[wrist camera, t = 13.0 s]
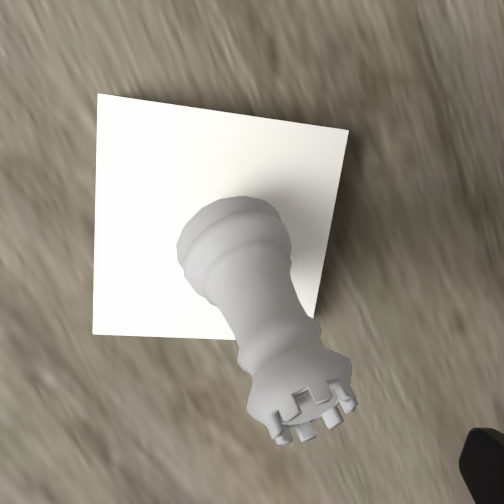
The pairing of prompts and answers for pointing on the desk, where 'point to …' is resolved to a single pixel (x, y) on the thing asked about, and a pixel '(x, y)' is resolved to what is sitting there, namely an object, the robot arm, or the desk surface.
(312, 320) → the rook chess piece
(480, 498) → the robot arm
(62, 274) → the desk surface
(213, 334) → the off-white block
